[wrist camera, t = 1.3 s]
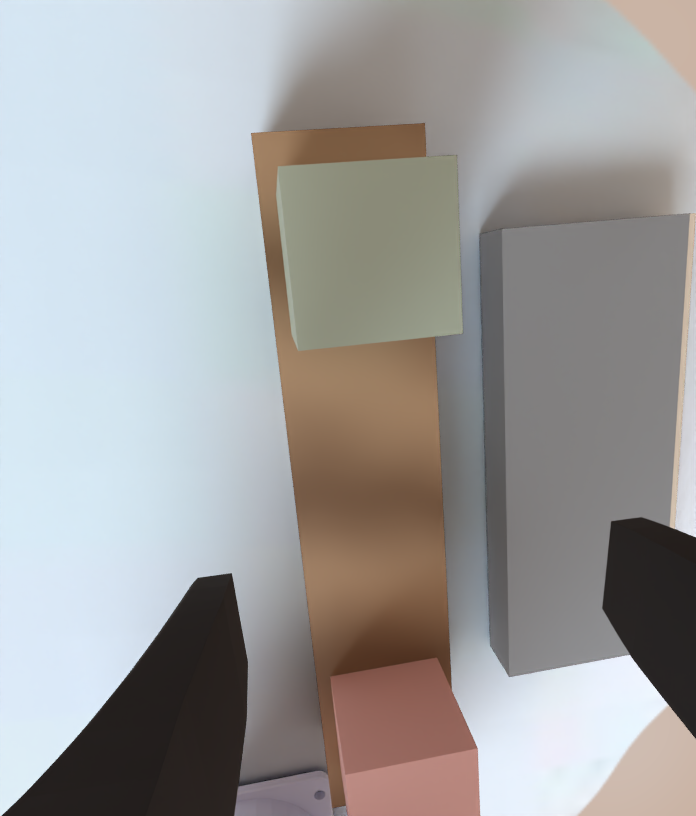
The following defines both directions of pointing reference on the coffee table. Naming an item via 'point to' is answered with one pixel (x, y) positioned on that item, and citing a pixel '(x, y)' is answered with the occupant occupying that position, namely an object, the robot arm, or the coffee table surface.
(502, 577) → the block
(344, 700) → the pink cube
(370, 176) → the pale green cube
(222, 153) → the coffee table surface
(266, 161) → the brown wooden bar
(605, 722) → the coffee table surface
